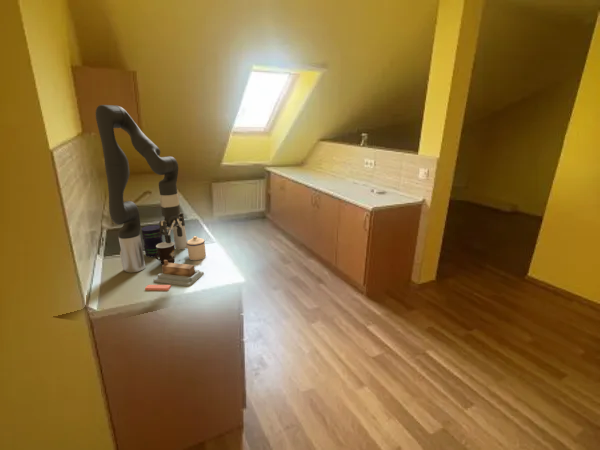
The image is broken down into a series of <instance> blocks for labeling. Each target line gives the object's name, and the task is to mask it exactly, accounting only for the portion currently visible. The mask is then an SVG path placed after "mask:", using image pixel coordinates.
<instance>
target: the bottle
mask: <svg viewBox="0 0 600 450" xmlns="http://www.w3.org/2000/svg"><path fill="white" fill-rule="evenodd" d="M181 223H182V221H181ZM172 232H173V233H172V234H173V240H174V241H173V243H174V247H175V248H176V249H183V250H185V249H184V248H186V249H187V246H186V244H187V241H188V240H187V239H188V238H187V233H186V232H187V231H186V226H183V228H182V233H183V234H182V235H183V236H182V237H178V236H177V228H176V226H175V227H173V229H172ZM176 249H175V250H176Z"/></svg>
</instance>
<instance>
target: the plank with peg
mask: <svg viewBox="0 0 600 450" xmlns="http://www.w3.org/2000/svg"><path fill="white" fill-rule="evenodd" d="M161 270H162V271H161V272H162V273H163V274H169V275H178V276H187V277H192V276H193V275H194V274H195V270H196V269H195V265H194V264H188V263H187V264H186V263H176V262H175V263H168V260H164V265H161Z"/></svg>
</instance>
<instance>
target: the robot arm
mask: <svg viewBox="0 0 600 450" xmlns="http://www.w3.org/2000/svg"><path fill="white" fill-rule="evenodd" d="M95 120H96V125H97V128H98V129H97V130H98V133H99V137H100V142H101V147H102V152H103V160H104V169H105V174H106V180H107V189H108V208H109V209H108V211H109V216H110V219H111V220H112V222H113V223H114V224H116V225H122V224H123V225H122V227H121V228H120V229H119V230H118V231H117V237H118V242H119V246H120V251H119V256H120V262H121V266H122V270H123V271H124V272H126V273H137V272H138V273H139V272H141V271H142V270H145V268H146V267H147V266H146V262H145V253H144V249H143V243H142V236H141V228H142V227H141V217H140V212H139V211H140V210H139V207H138V205H137V204H136V203H135V202H134V201H131V200H128V201H124V192H125V189H126V187H127V184H128V181H129V179H130V173H131V171H130V164H129V159H128V157H127V155H126V153H125V152H124V150H123V149H122V148H121V146H120V145H119V143H118V142H117V139H116V136H115V135H116V134H115V129H121V130H123V131H124V132H125V133H127V134H128V135H129V137H130V142H131V144H132V146H133V148H134V149H135V150H136V152H138V153H139V154H140V155H141V156H142V157H143V159H145V161H146V162H147V164H148V166H149V167H150V169H151V170H152V172H154V173H155V174H156V175H159V176H163V179H161V180H159V182H158V191H159V205H160V211H161V216H163V218H164V220H160V221H159V224H158V225H160V234H161V235H162V236H164V239H165V240H164V242H166V243H171V242H172V238H171V237H172V236H171V231H173V227H175V226H176V228H177V236H178V237H182V236H183V235H182V234H183V233H182V228H183V226H185V225H186V224H185V218H184V217H185V216H184V213H181V208H180V207H181V206H180V205H181V204H180V198H179V194H178V187H177V181H178V176H179V163H178V161H177V159H176V158H175V157H173V156H172V155H171V156H170V155H168V156H161V149H160V148H159V147H158V145H156V144H155V143H154V142H153V141H152V140H151V139H150V138H149V137H148V136H147V135H146V134H145V133H144V132H143V131H142V130H141V128H140V127H139V126H138V124H137V123H136V121H134V119H133V117H132V116H131V115H130V114H129V113H128V112H127V110H126V109H125V108H123V107H122V106H119V105H113V104H99V105H98V106H97V107H96V110H95ZM181 221H182V223H181ZM185 227H186V226H185Z"/></svg>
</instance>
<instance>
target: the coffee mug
mask: <svg viewBox="0 0 600 450" xmlns="http://www.w3.org/2000/svg"><path fill="white" fill-rule="evenodd" d="M156 248H157V253H158V255H159V256H157V253H156V255H155V257H154V258H155V259H156V260H157V261H159V262H160V265H161V266H162V265H164V260H168V263H174V262H175V259H176V258H175V251H176V249H175V243H174V241H171V243H166V241H163V243H159V244H157V245H156ZM175 263H176V262H175Z"/></svg>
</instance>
